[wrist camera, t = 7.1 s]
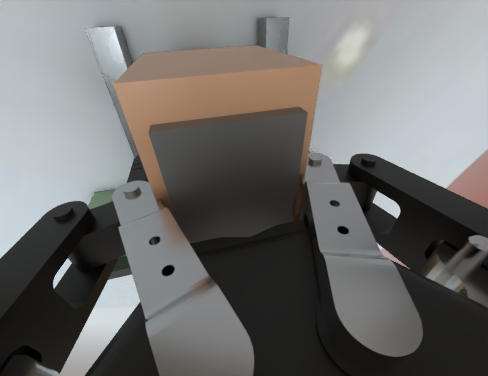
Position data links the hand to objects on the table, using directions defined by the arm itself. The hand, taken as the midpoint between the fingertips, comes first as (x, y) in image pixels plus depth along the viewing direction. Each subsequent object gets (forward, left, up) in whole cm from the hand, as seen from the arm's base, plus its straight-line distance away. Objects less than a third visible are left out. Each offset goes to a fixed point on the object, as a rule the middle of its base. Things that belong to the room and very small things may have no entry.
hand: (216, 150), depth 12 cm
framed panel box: (0, 0, -1) cm, 1 cm away
